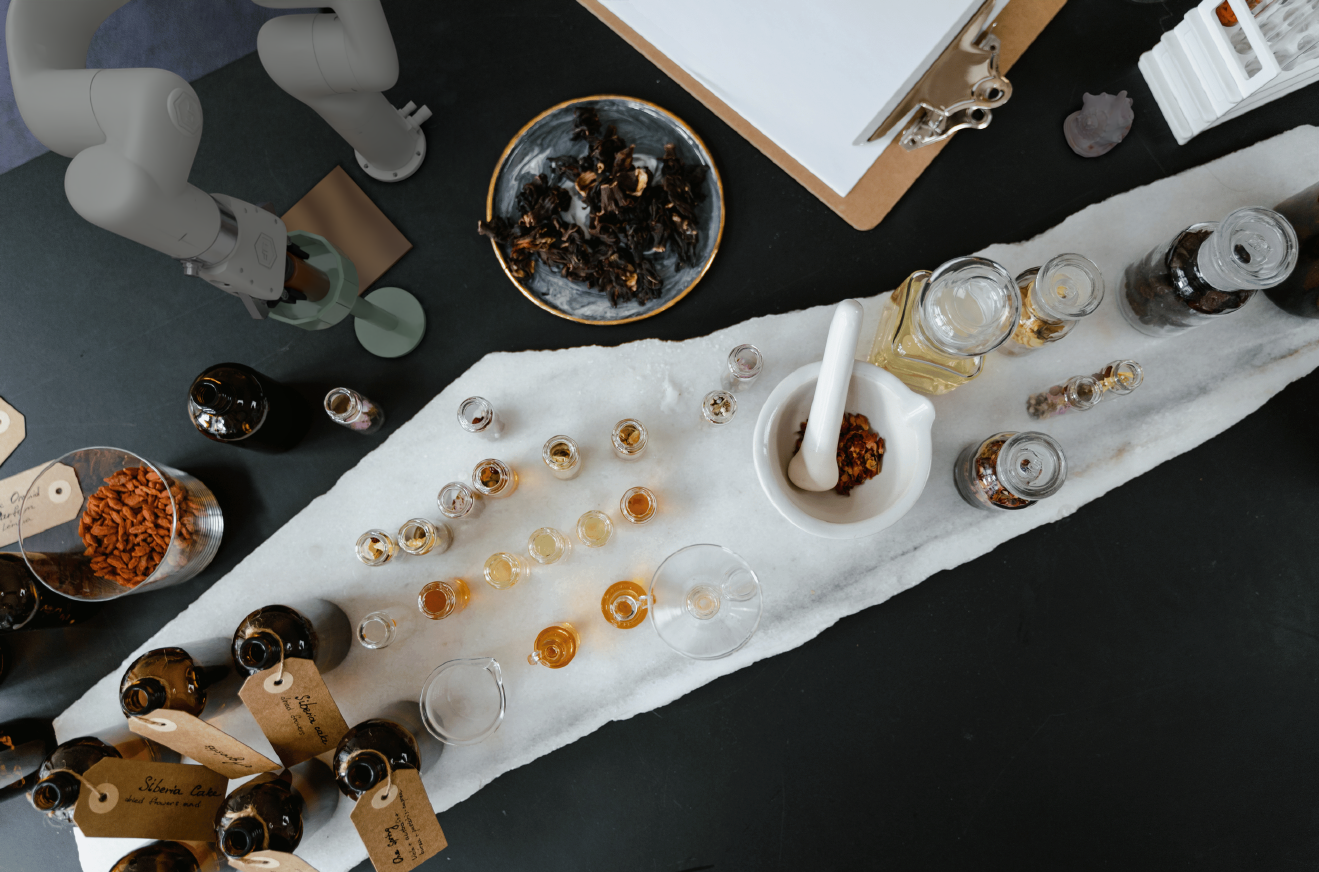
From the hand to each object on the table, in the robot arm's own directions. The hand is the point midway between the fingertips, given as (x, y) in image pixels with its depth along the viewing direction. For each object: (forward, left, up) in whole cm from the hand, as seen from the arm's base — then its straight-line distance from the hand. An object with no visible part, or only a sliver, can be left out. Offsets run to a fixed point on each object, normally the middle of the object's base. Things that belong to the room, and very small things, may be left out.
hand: (296, 276), depth 88 cm
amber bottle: (0, 0, -4) cm, 4 cm away
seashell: (-113, +59, -29) cm, 131 cm away
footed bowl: (0, 0, -29) cm, 29 cm away
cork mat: (-2, -17, -29) cm, 34 cm away
